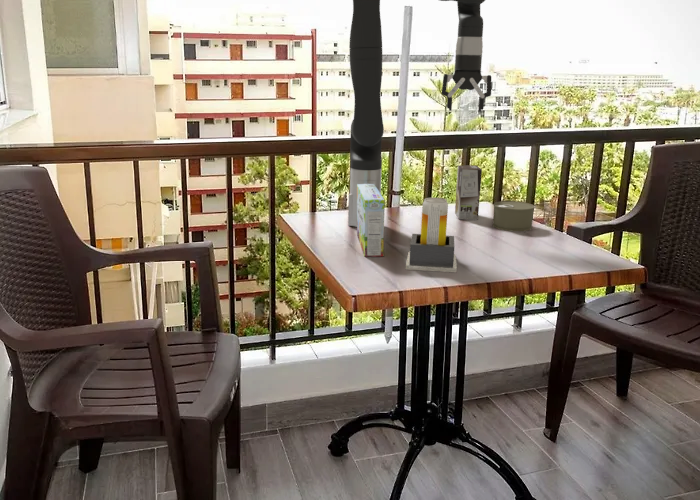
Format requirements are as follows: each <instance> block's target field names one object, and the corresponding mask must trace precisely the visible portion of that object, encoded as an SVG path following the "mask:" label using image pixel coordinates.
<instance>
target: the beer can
mask: <svg viewBox="0 0 700 500" xmlns="http://www.w3.org/2000/svg"><path fill="white" fill-rule="evenodd" d="M448 207H449V204H448V202H447V199H446V198H443V197H426V198H424V200H423V202H422V209H421V210H422V211H421V224H420V225H421V226H420V227H421V228H420V234H421V241H420V244H433V245H445V242H446V236H447V226H448V223H447V222H448V210H449V208H448Z"/></svg>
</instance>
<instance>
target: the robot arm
mask: <svg viewBox="0 0 700 500" xmlns="http://www.w3.org/2000/svg"><path fill="white" fill-rule="evenodd" d="M439 1H441V2H449V1H452V2H457V4H456V5H457V14H458V16H457V17H458V27H457V28H458V29H457V39H456V45H455V59H454V62H455V63H454V73H453V74H447V73H445V74H443V79H442V87H441V95H442V96H445V97H446V98H447V101H446V108H447V109H449V112H450V111H452V107H453V96H454V94H455V93H456V92H457V91H458V90H461V91H465V90H469V91H473V90H475V91H476V93H477V94H478V96H479V99H478V106H477V107H478V110H477V112H478V113H479V112H480V113H481V112H482V111H483V110H484V107H485V99H487V98H488V97H491V96H492V76H491V75H490V74H488V75H482V62H483V61H482V60H483V59H482V57H483V47H484V45H483V33H484V19H483V17H482V16H481V4H484V2H485V1H486V0H439ZM352 5H353V6H352V8H353V9H352V19H351V25H350V32H349V33H350V34H349V70H350V76H351V82H352V87H353V88H352V89H353V94H354V109H353V110H354V112H353V119H352V121H351V124H350V143H349V144H350V145H349V147H350V149H349V150H350V156H349V157H350V159H349V160H350V172H349V173H350V176H349V177H350V178H349V179H350V180H349V181H350V182H349V183H350V184H349V194H348V210H347V211H348V212H347V213H348V214H347V215H348V216H347V218H348V219H347V220H348V221H347V223H348V224H347V226H351V227H355V228H357V184H375V186H376V188H377V189H378V191H379V192H380V194H381V195H382V193H381V192H382V170H383V169H382V167H383V161H382V160H383V158H382V138H383V136H384V132H385V128H384V122H383V121H384V120H383V113H382V104H381V103H382V102H381V90H382V77H383V37H382V35H383V34H382V22H381V20H382V18H381V11H380V10H381V0H352ZM451 79H452V80H453V82H454V83H455V85H454V86H453V87H452V88H451V90H450V91H447V87H448V83H449V82H450V81H451ZM482 80H483V82H484V83H485V84H486V92H484V93H483V91H482V89H481V87H480V86H479V84H480V82H481V81H482Z"/></svg>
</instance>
